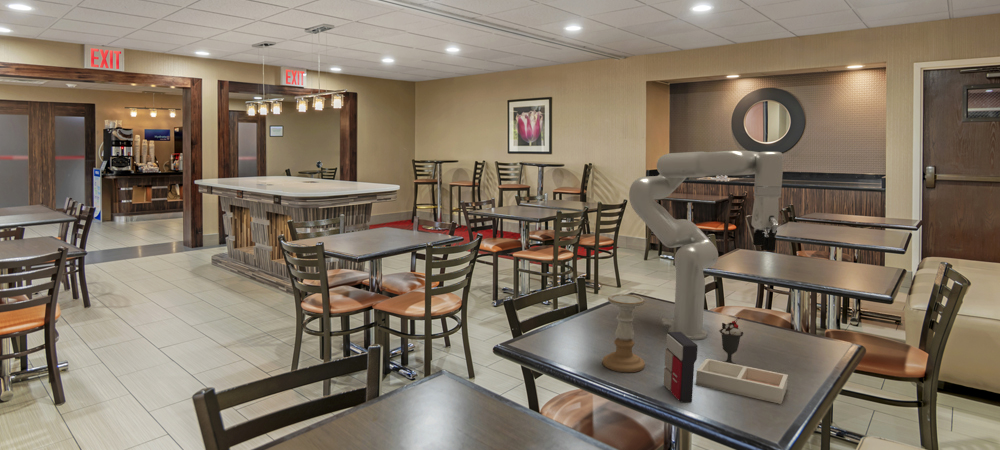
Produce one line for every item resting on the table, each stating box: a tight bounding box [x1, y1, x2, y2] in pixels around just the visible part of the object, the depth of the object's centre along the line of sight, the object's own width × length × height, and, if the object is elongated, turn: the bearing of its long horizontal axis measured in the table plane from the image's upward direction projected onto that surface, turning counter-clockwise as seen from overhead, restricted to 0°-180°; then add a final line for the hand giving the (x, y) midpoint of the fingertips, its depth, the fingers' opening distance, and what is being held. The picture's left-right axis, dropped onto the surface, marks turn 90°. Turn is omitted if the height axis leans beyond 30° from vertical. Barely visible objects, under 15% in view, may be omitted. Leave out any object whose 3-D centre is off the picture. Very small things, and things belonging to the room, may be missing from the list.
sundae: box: [718, 316, 744, 364], centre depth 168 cm, size 7×7×15 cm
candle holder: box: [601, 293, 646, 373], centre depth 166 cm, size 12×12×20 cm
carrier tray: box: [695, 358, 789, 405], centre depth 153 cm, size 21×11×4 cm, turn 57°
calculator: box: [663, 331, 699, 403], centre depth 147 cm, size 11×4×15 cm, turn 5°
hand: (763, 247), depth 175 cm, fingers open, 9 cm apart
